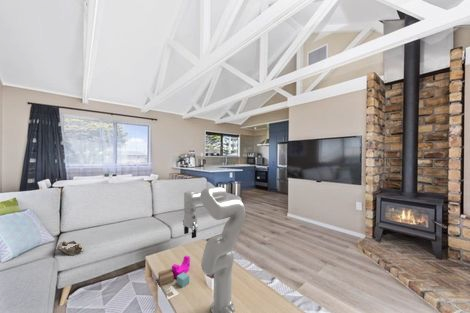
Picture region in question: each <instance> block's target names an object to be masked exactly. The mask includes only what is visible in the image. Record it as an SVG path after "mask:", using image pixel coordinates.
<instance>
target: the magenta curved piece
mask: <svg viewBox="0 0 470 313" xmlns="http://www.w3.org/2000/svg"><path fill="white" fill-rule="evenodd" d="M190 267H191V256H189V255H184V256H183V260H182V263H181V265H179V264H175V263H173V264H172V265H171V270H172V272H173V275H174V278H175V279H177V276H178V275H180V274H181V273H183V272H184V273H185V274H187V273H188V272H189V271H190Z"/></svg>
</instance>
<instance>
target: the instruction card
mask: <svg viewBox="0 0 470 313" xmlns="http://www.w3.org/2000/svg"><path fill="white" fill-rule="evenodd" d="M169 286H170V288H171V290H168V291H167V290H166V289H165V293H166V299H167V300H169V299H171V298H173V297H176V296H178V295H180V293H179V292H178V291H177V289H175V287H174V286H173V285H169ZM170 288H169V289H170ZM169 291H170V292H169ZM167 292H169V293H167Z"/></svg>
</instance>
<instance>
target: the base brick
mask: <svg viewBox="0 0 470 313" xmlns="http://www.w3.org/2000/svg"><path fill="white" fill-rule="evenodd" d="M157 273H158V277H157V278H158V283H159V286H160V287H162V286H165V285H168V284H172V283H174V278H175V277H174V275H173V272H172V268H169V269H165V270H162V271H158V272H157Z"/></svg>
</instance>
